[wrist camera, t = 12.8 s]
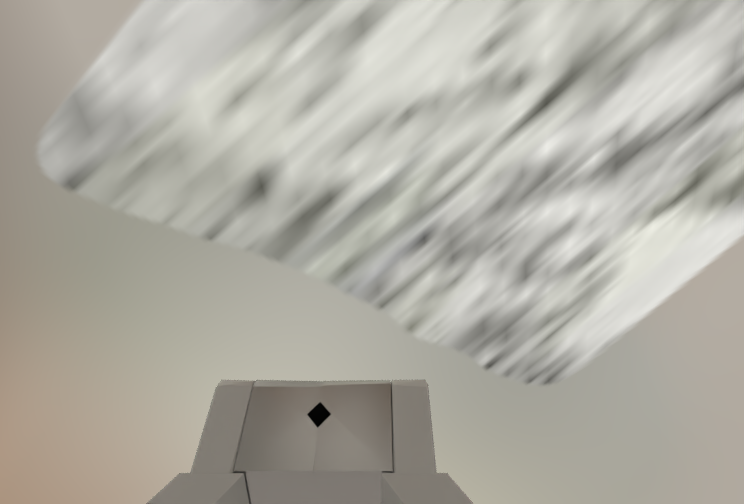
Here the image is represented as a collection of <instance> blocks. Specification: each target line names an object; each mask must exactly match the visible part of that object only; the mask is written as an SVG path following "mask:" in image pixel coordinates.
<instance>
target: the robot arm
mask: <svg viewBox="0 0 744 504" xmlns="http://www.w3.org/2000/svg"><path fill="white" fill-rule="evenodd" d="M146 504H473V502H472V501H471V500H470V499H469V498H468V497H467V496H466V494H464V492H463V491H462V490H461V489H460V487H459V486H458V485H457V484H456V483H455V482H454V480H452V478H451V477H450V476H449V475H448V473H436V463H435V453H434V443H433V432H432V423H431V411H430V401H429V390H428V384H427V382H426V380H392V381H391V382H390V380H377V381H376V380H374V381H373V380H368V381H278V380H256V381H245V380H243V381H242V380H221V381H220V383H219V384H218V386H217V387H216V389H215V392H214V395H213V399H212V402H211V405H210V409H209V412H208V416H207V419H206V422H205V426H204V429H203V432H202V436H201V439H200V442H199V446H198V449H197V452H196V456H195V459H194V462H193V466H192V469H191V472H190V473H179V474H178V475H177V476H176V477H175V478H174V479H173V480H172V481H170V482H169V483H168V484H167V485H166V486H165V487H164V488H163V489H162V490H161V491H160V492H158V493H157V494H156V495H155V496H154V497H153V498H152V499H151V500H150V501H149V502H147V503H146Z"/></svg>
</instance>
